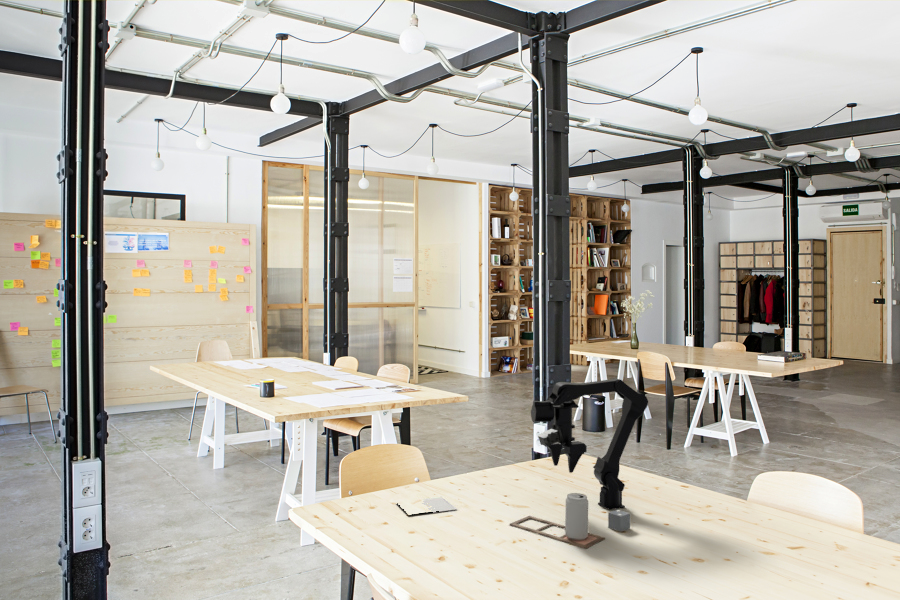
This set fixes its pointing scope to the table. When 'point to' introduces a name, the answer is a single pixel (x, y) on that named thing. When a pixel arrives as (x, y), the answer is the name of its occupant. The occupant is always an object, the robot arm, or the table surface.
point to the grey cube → (619, 520)
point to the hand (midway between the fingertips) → (563, 469)
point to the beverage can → (576, 516)
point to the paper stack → (438, 504)
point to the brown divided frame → (584, 543)
